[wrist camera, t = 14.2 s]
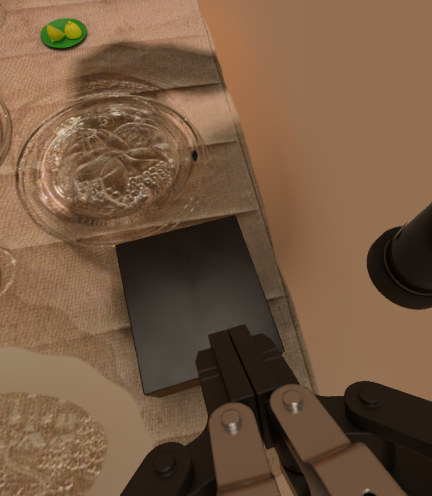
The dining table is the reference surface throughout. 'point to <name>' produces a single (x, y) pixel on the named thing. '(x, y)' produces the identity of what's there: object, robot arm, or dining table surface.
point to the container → (1, 16)
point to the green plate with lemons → (63, 33)
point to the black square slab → (189, 297)
